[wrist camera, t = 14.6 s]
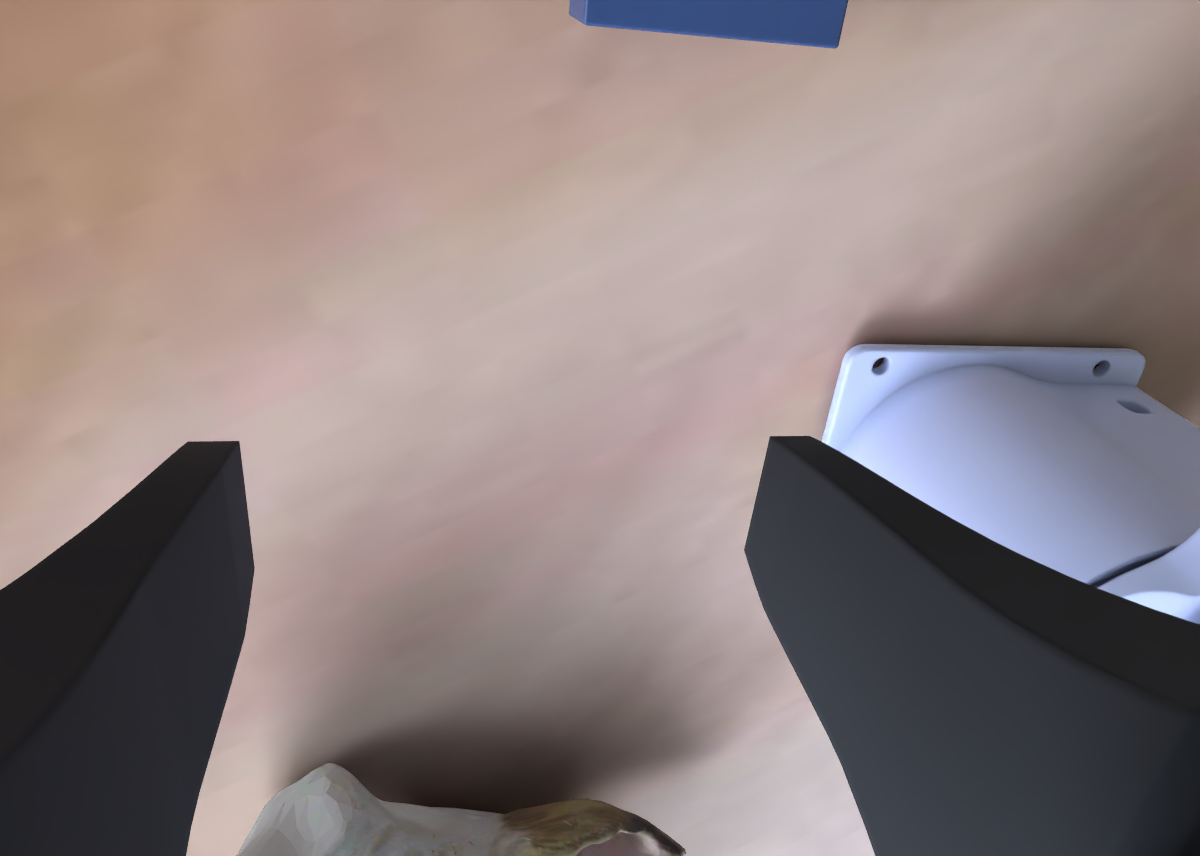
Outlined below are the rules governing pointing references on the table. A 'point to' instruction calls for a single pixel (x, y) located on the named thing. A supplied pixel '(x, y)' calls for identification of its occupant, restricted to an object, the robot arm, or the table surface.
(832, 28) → the brush
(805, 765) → the table surface
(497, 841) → the ceramic sculpture
